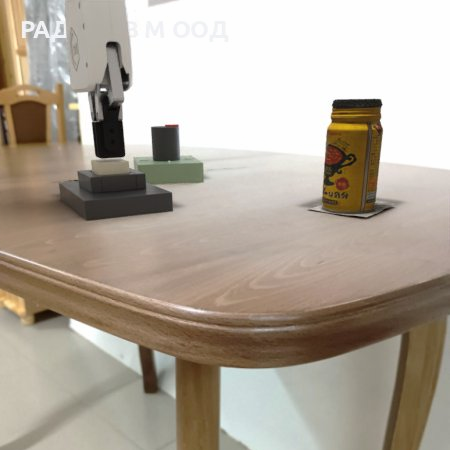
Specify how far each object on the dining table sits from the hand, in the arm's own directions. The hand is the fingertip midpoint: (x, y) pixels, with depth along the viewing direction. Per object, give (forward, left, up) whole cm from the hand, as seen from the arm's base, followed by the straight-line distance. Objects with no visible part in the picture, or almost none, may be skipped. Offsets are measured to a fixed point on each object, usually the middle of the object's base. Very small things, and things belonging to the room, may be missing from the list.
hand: (110, 157), depth 58 cm
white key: (0, 0, -2) cm, 2 cm away
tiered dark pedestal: (0, 0, -6) cm, 6 cm away
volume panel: (-17, +14, -6) cm, 23 cm away
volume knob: (-17, +14, -3) cm, 22 cm away
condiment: (+16, +24, -6) cm, 29 cm away
